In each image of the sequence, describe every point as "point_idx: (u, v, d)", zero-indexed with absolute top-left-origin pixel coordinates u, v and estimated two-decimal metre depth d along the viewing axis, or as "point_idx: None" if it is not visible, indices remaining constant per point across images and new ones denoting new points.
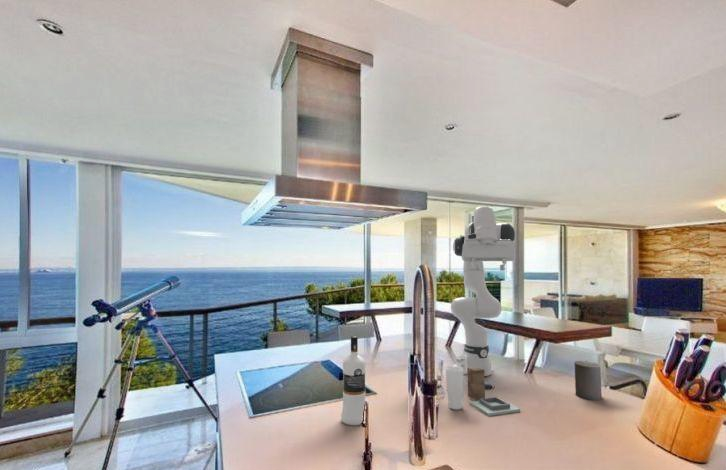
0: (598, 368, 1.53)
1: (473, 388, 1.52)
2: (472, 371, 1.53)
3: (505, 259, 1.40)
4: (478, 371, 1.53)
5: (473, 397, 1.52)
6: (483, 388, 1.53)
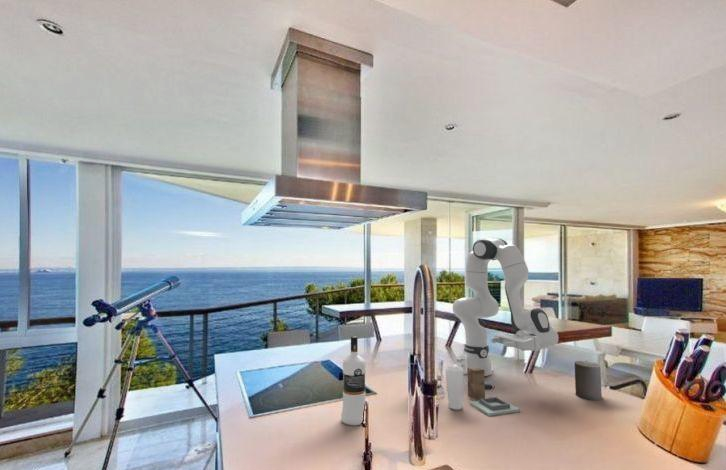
0: (598, 368, 1.53)
1: (473, 388, 1.52)
2: (472, 371, 1.53)
3: (497, 341, 1.66)
4: (478, 371, 1.53)
5: (473, 397, 1.52)
6: (483, 388, 1.53)
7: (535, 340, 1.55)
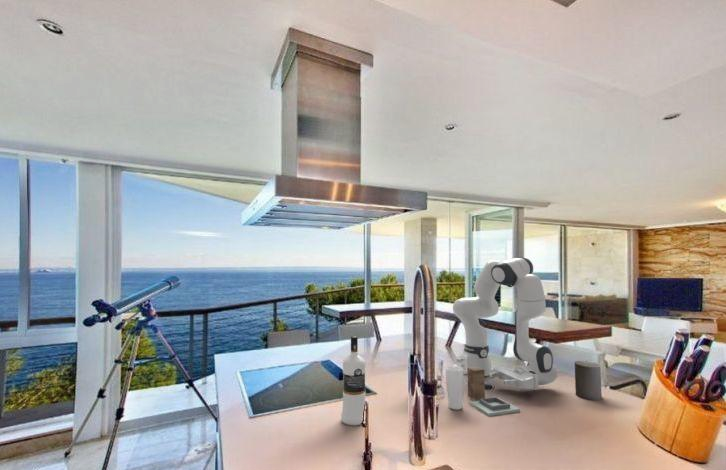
0: (598, 368, 1.53)
1: (473, 388, 1.52)
2: (472, 371, 1.53)
3: None
4: (478, 371, 1.53)
5: (473, 397, 1.52)
6: (483, 388, 1.53)
7: (535, 378, 1.54)
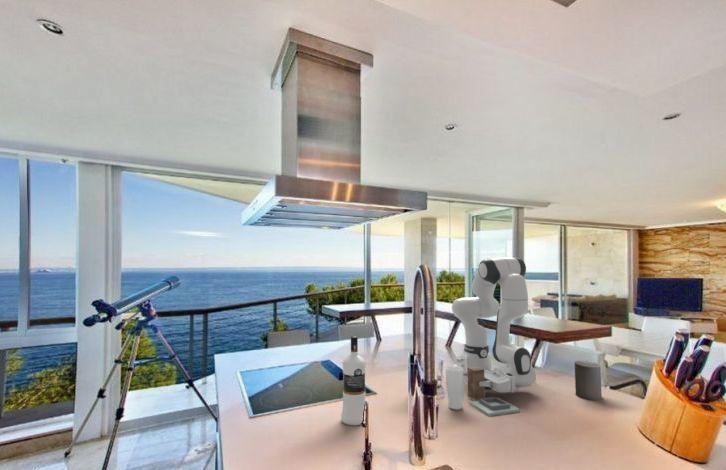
0: (598, 368, 1.53)
1: (473, 388, 1.52)
2: (472, 371, 1.53)
3: None
4: (478, 371, 1.53)
5: (473, 397, 1.52)
6: (483, 388, 1.53)
7: (512, 381, 1.50)
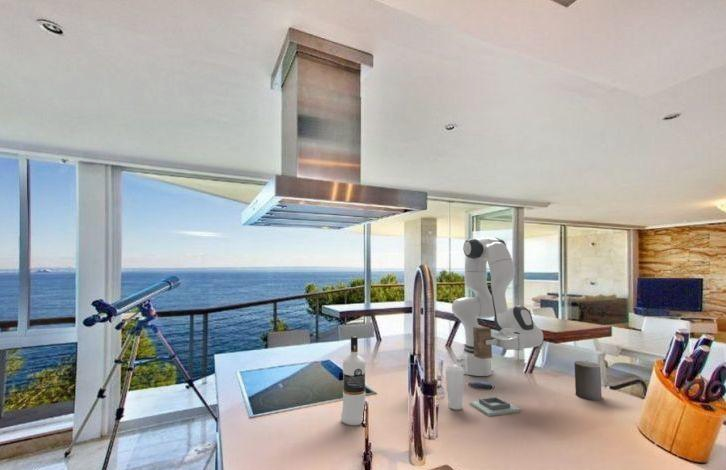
0: (598, 368, 1.53)
1: (480, 347, 1.49)
2: (478, 329, 1.50)
3: None
4: (484, 329, 1.49)
5: (480, 356, 1.48)
6: (490, 347, 1.49)
7: (519, 339, 1.47)
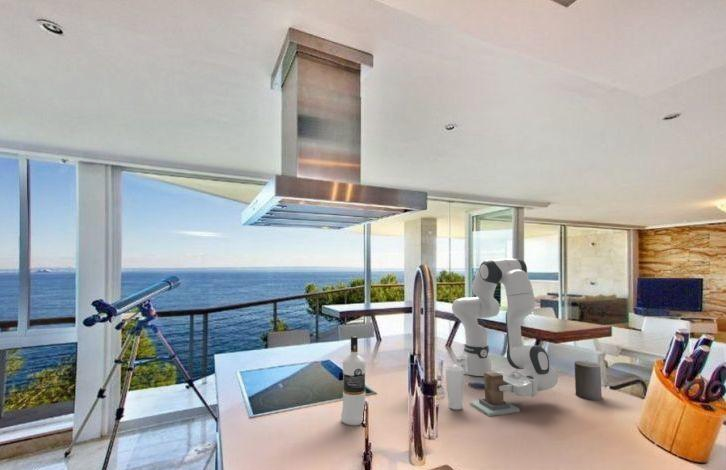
0: (598, 368, 1.53)
1: (491, 395, 1.41)
2: (490, 377, 1.42)
3: None
4: (496, 377, 1.42)
5: None
6: (502, 395, 1.42)
7: (533, 384, 1.39)
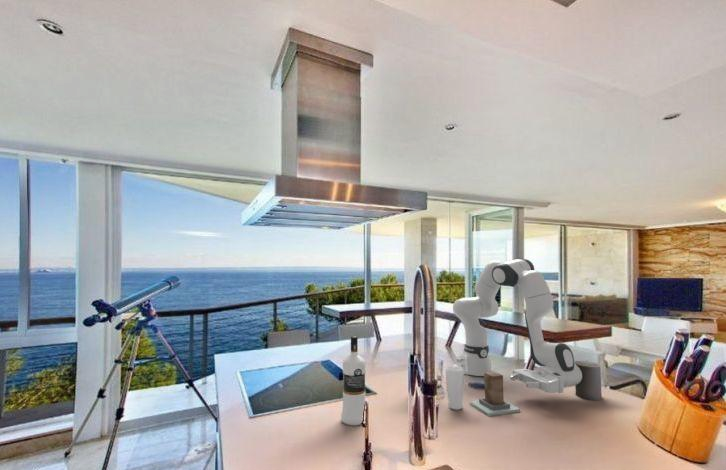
0: (598, 368, 1.53)
1: (491, 395, 1.41)
2: (490, 377, 1.42)
3: None
4: (496, 377, 1.42)
5: None
6: (502, 395, 1.42)
7: (560, 381, 1.43)
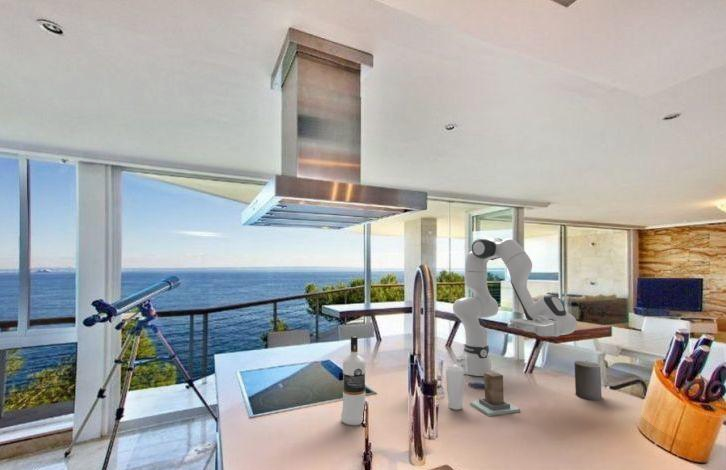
0: (598, 368, 1.53)
1: (491, 395, 1.41)
2: (490, 377, 1.42)
3: (514, 327, 1.59)
4: (496, 377, 1.42)
5: None
6: (502, 395, 1.42)
7: (555, 325, 1.48)
